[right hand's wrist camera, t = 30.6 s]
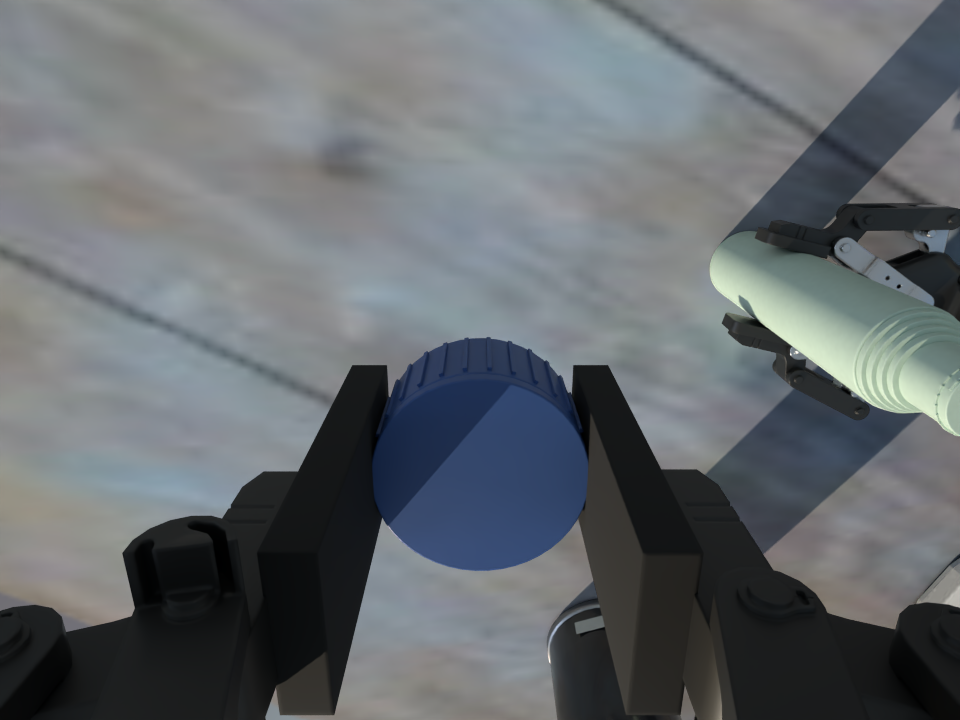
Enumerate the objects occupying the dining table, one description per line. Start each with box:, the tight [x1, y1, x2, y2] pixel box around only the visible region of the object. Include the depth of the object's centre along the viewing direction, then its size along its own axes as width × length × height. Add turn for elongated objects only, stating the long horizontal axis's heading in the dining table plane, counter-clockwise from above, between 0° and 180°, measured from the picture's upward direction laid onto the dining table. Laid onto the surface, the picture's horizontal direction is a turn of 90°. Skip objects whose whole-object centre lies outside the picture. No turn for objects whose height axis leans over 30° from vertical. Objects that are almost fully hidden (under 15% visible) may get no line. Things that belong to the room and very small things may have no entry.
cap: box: [372, 337, 589, 571], centre depth 13 cm, size 4×4×2 cm
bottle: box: [710, 231, 960, 436], centre depth 35 cm, size 5×5×23 cm
